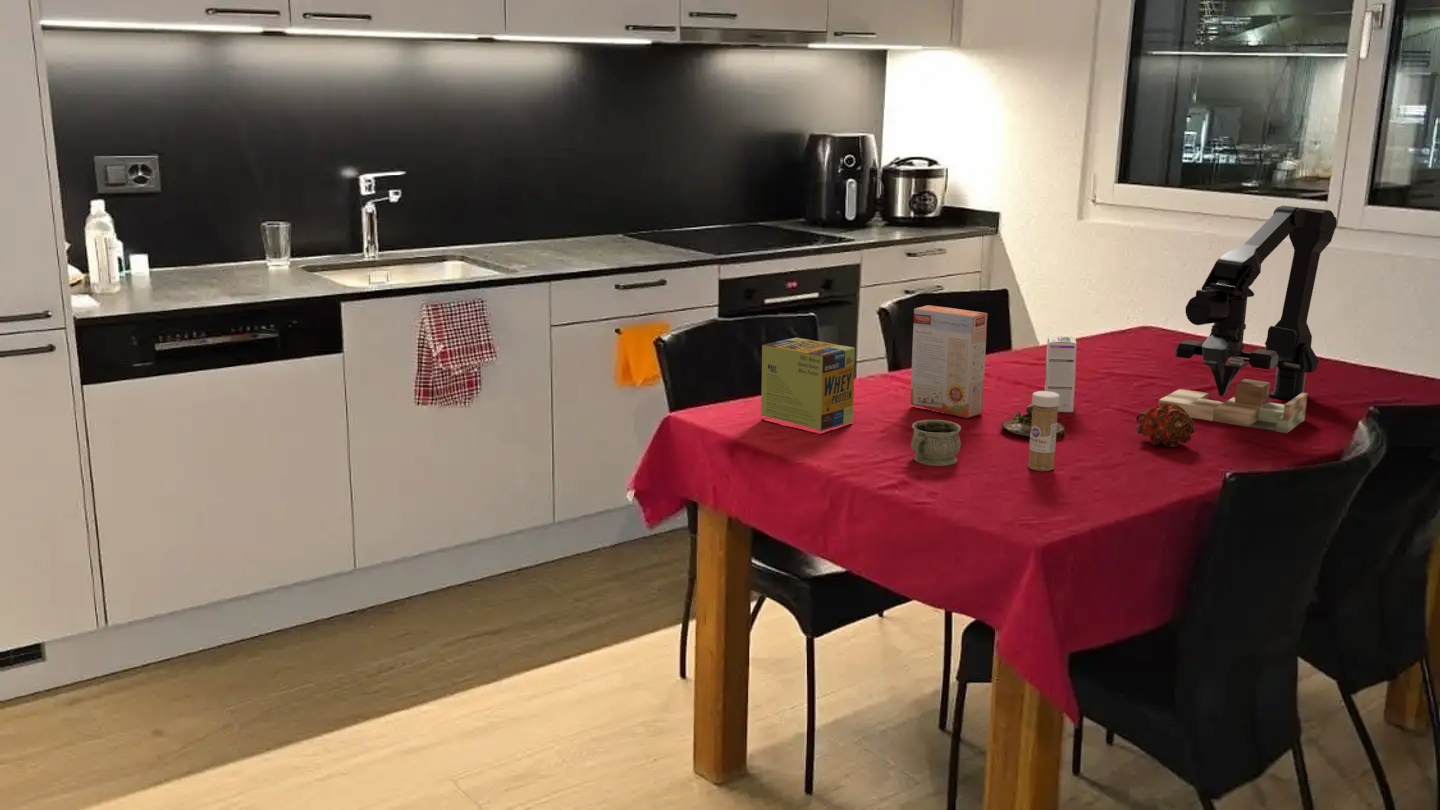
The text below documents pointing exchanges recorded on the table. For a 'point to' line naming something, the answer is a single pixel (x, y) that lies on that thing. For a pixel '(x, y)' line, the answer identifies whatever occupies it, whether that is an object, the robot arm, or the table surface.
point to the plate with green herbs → (1026, 424)
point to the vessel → (936, 442)
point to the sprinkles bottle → (1043, 430)
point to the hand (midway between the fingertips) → (1221, 395)
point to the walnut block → (1252, 392)
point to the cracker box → (948, 360)
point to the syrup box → (1061, 370)
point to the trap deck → (1241, 411)
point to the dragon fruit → (1166, 425)
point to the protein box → (808, 383)
